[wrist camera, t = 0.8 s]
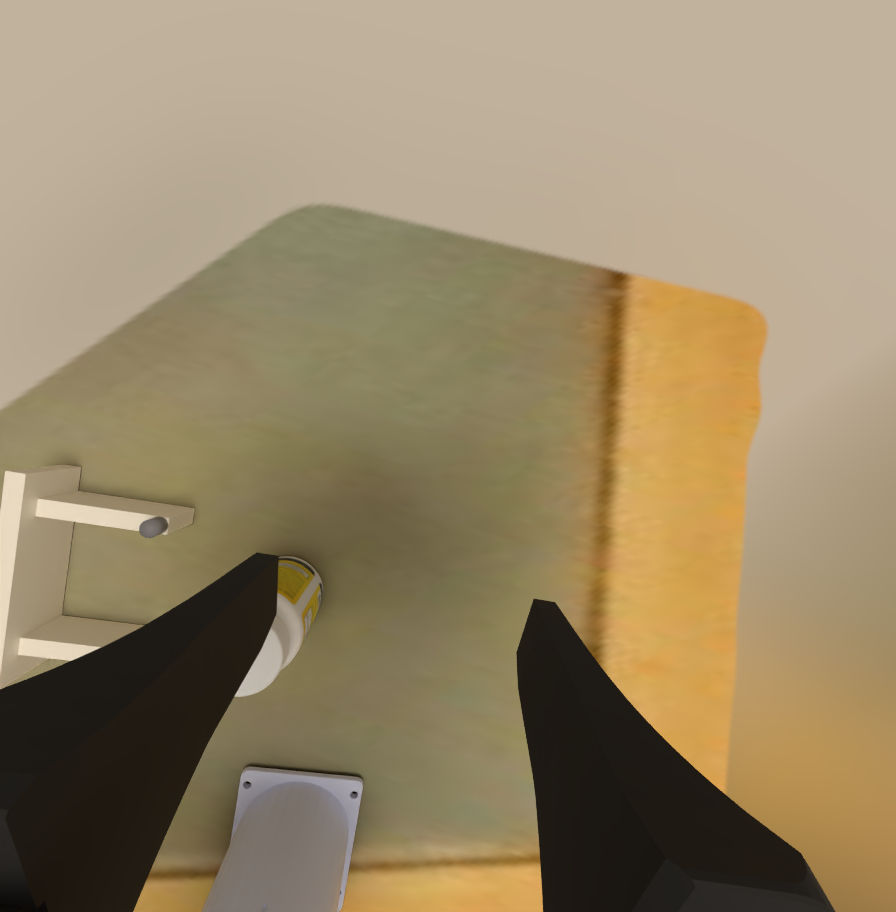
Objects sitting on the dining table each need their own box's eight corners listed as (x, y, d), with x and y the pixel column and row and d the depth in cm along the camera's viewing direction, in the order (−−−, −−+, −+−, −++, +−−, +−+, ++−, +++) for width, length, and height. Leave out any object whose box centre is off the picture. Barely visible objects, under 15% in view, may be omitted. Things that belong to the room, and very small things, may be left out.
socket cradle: (171, 666, 29) (133, 705, 25) (39, 651, 28) (-22, 688, 24) (198, 485, 28) (163, 494, 24) (64, 464, 27) (5, 470, 23)
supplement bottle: (237, 573, 29) (167, 633, 20) (305, 542, 29) (262, 589, 21) (270, 637, 29) (214, 722, 21) (336, 606, 29) (307, 678, 21)
